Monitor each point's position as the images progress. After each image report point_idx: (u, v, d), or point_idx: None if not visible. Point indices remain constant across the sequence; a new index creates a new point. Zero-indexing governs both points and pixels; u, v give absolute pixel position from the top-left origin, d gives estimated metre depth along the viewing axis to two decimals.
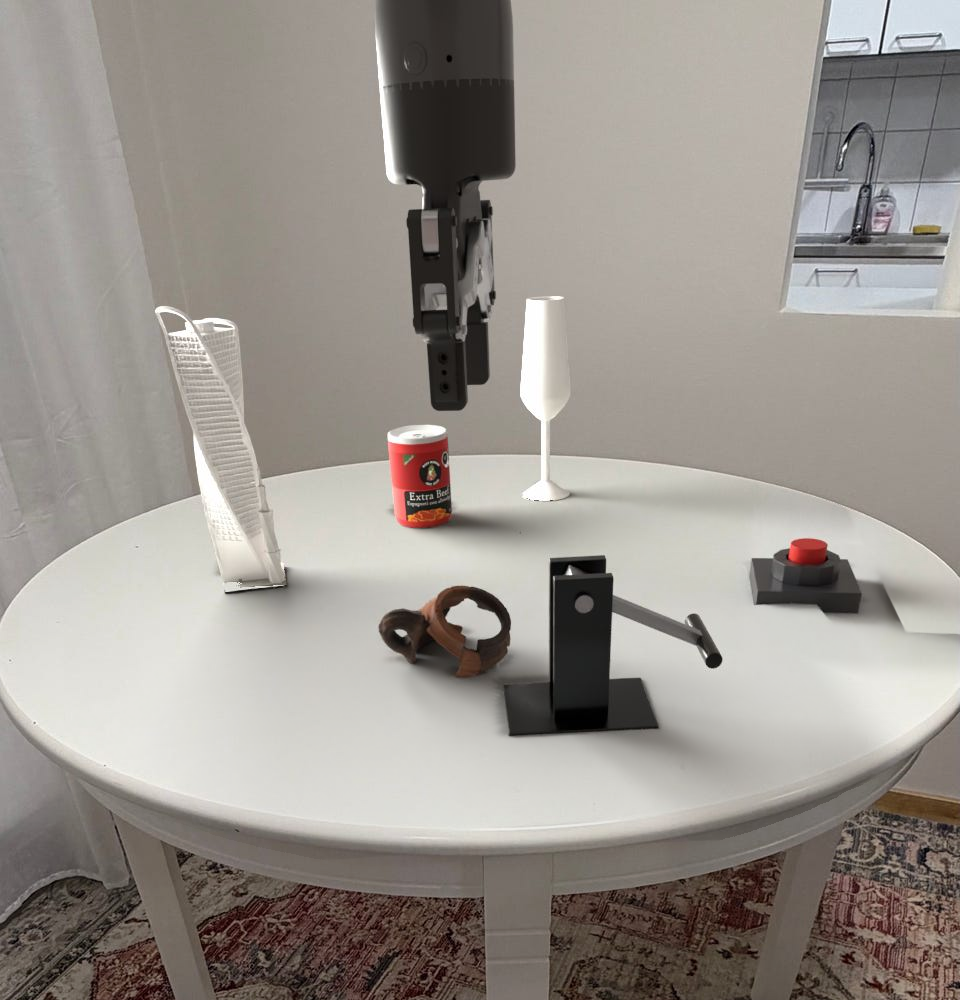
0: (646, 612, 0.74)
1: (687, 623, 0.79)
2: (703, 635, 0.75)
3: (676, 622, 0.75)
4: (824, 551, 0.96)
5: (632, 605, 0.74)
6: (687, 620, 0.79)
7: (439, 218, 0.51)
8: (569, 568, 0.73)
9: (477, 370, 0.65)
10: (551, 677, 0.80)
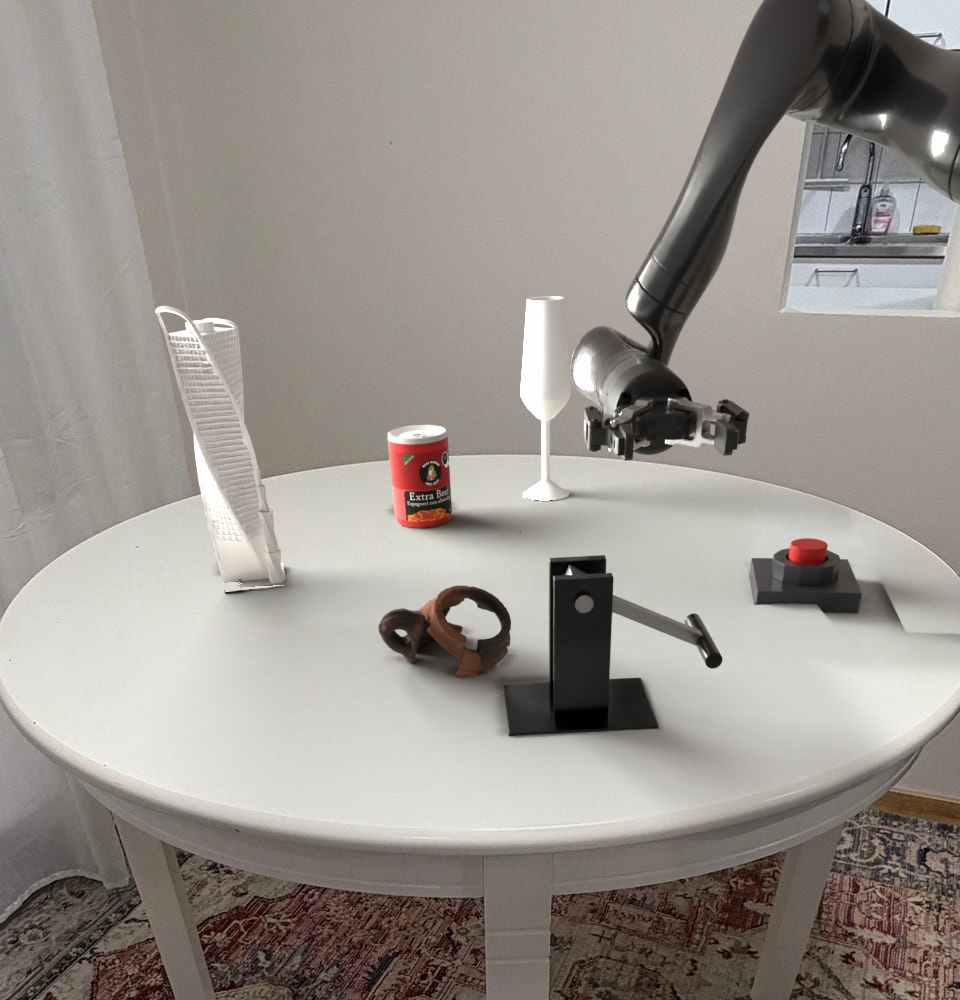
0: (646, 612, 0.74)
1: (687, 623, 0.79)
2: (703, 635, 0.75)
3: (676, 622, 0.75)
4: (824, 551, 0.96)
5: (632, 605, 0.74)
6: (687, 620, 0.79)
7: (584, 415, 0.88)
8: (569, 568, 0.73)
9: (723, 436, 0.81)
10: (551, 677, 0.80)
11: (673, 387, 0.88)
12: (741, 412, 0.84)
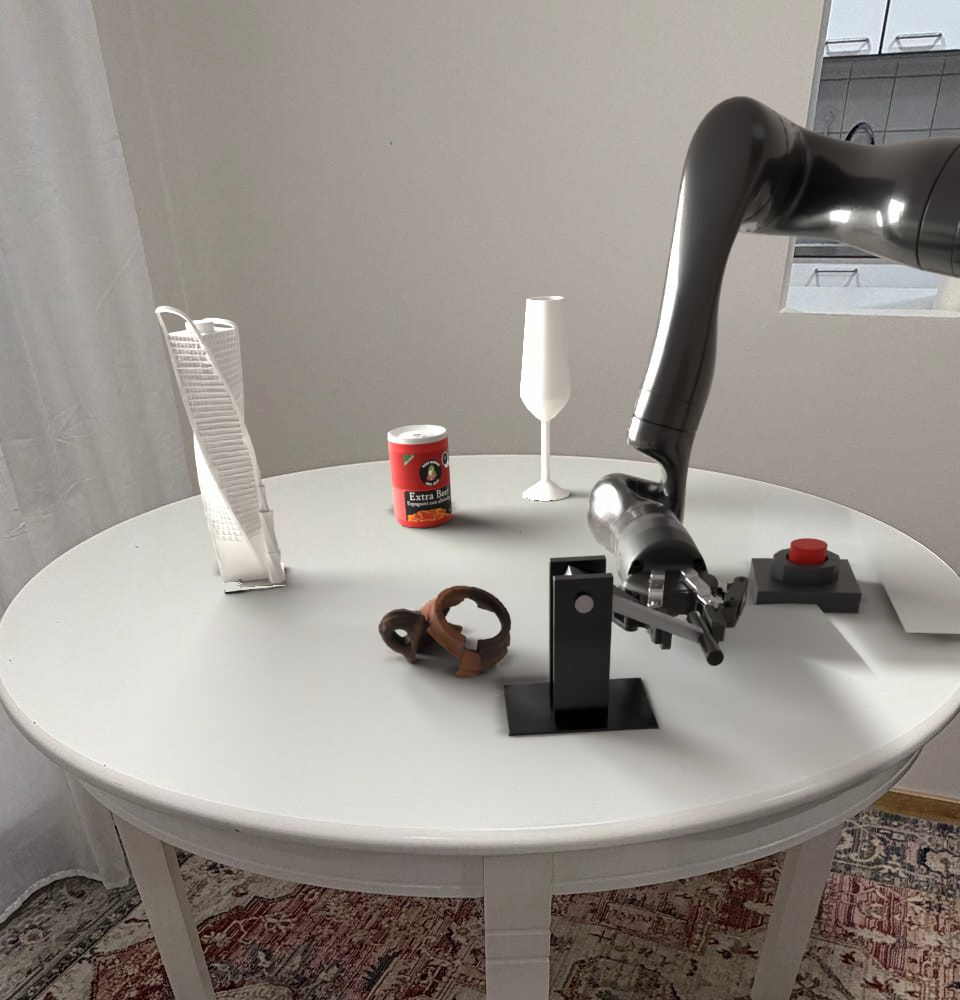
0: (647, 611, 0.74)
1: (688, 621, 0.79)
2: (704, 632, 0.75)
3: (677, 620, 0.75)
4: (824, 551, 0.96)
5: (632, 604, 0.74)
6: (688, 618, 0.79)
7: None
8: (569, 568, 0.73)
9: None
10: (551, 677, 0.80)
11: (687, 556, 0.85)
12: (729, 597, 0.80)
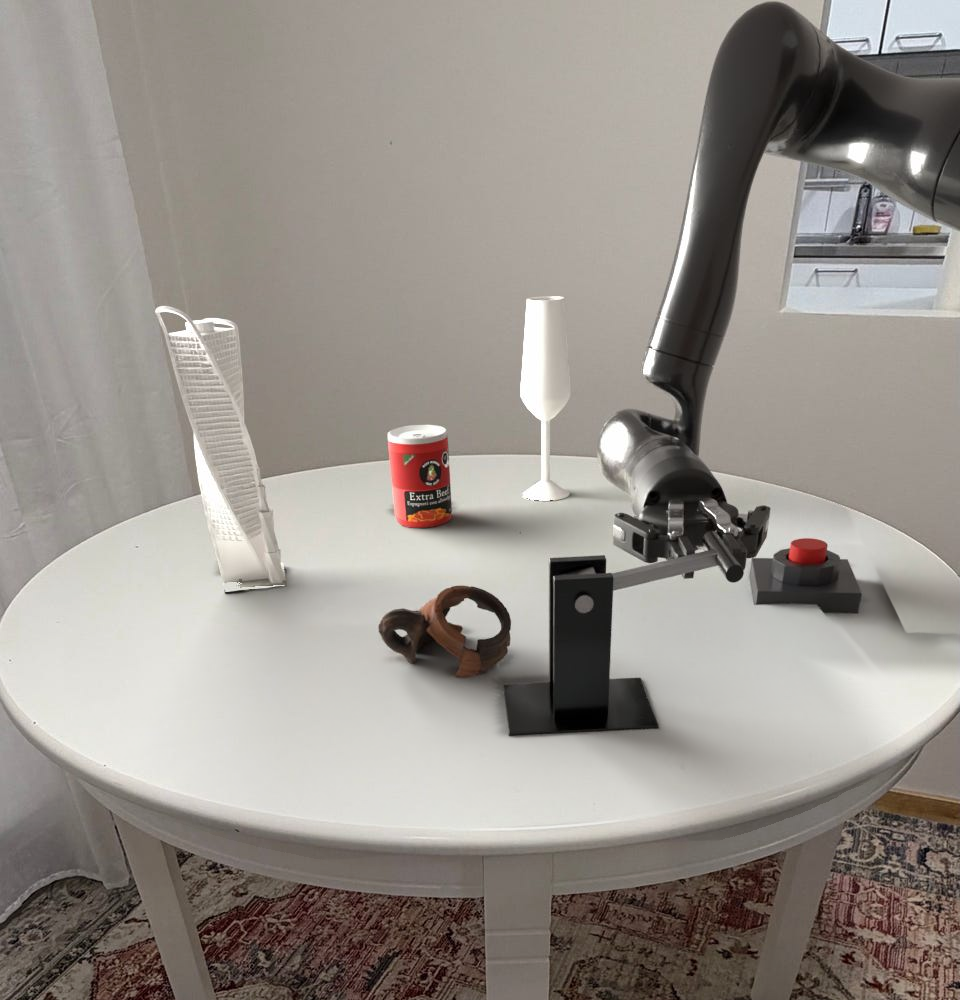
0: (650, 569, 0.72)
1: (705, 546, 0.75)
2: (718, 552, 0.72)
3: (685, 558, 0.72)
4: (824, 551, 0.96)
5: (634, 571, 0.73)
6: (703, 543, 0.75)
7: (614, 523, 0.81)
8: None
9: None
10: (551, 677, 0.80)
11: (705, 486, 0.82)
12: (750, 525, 0.76)
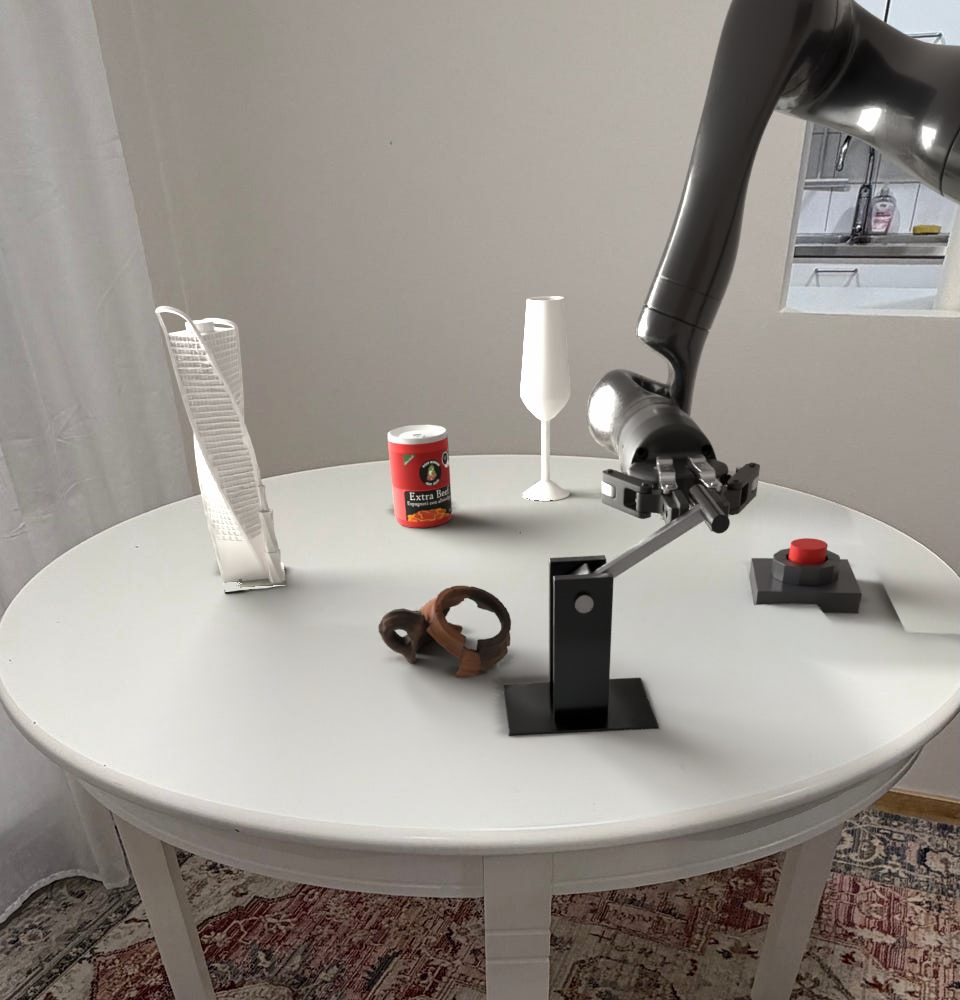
0: (640, 546, 0.71)
1: (692, 502, 0.73)
2: (701, 507, 0.70)
3: (672, 523, 0.71)
4: (824, 551, 0.96)
5: (625, 554, 0.72)
6: (690, 499, 0.73)
7: (602, 480, 0.78)
8: None
9: None
10: (551, 677, 0.80)
11: (695, 442, 0.80)
12: (733, 480, 0.74)
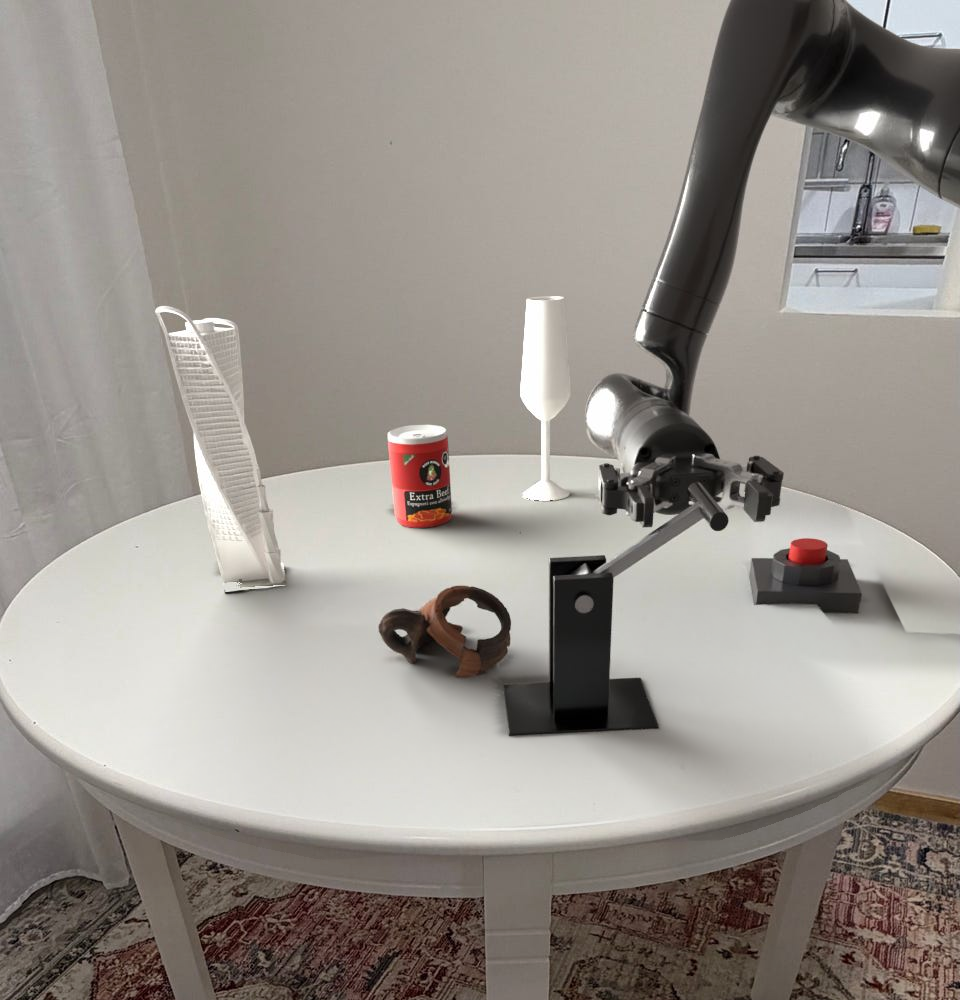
0: (640, 545, 0.71)
1: None
2: (700, 505, 0.70)
3: (671, 521, 0.71)
4: (824, 551, 0.96)
5: (625, 553, 0.72)
6: (689, 497, 0.73)
7: None
8: None
9: (755, 500, 0.72)
10: (551, 677, 0.80)
11: (698, 442, 0.80)
12: (775, 472, 0.75)
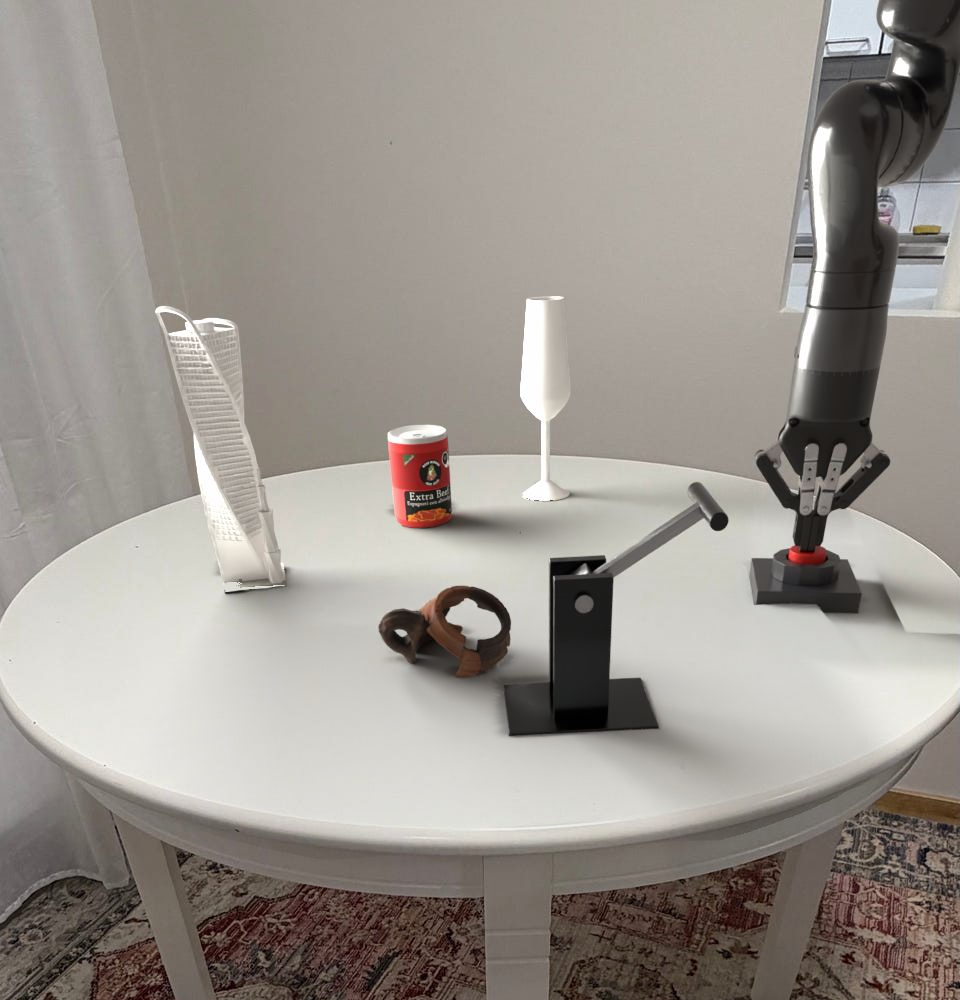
0: (640, 545, 0.71)
1: None
2: (700, 505, 0.70)
3: (671, 521, 0.71)
4: (823, 557, 0.96)
5: (625, 553, 0.72)
6: (689, 497, 0.73)
7: None
8: None
9: None
10: (551, 677, 0.80)
11: None
12: (841, 503, 0.93)
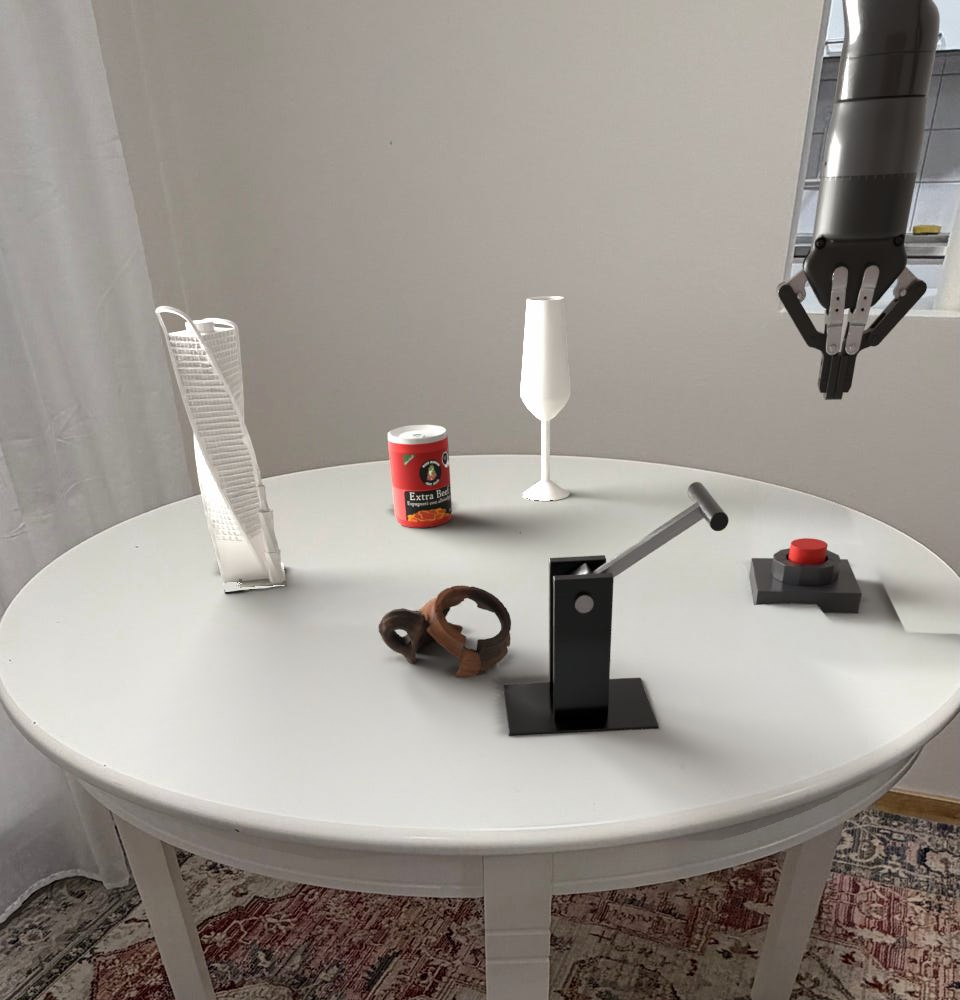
0: (640, 545, 0.71)
1: None
2: (700, 505, 0.70)
3: (671, 521, 0.71)
4: (824, 551, 0.96)
5: (625, 553, 0.72)
6: (689, 497, 0.73)
7: (778, 295, 0.84)
8: None
9: (834, 388, 0.88)
10: (551, 677, 0.80)
11: None
12: (872, 339, 0.84)
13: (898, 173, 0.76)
